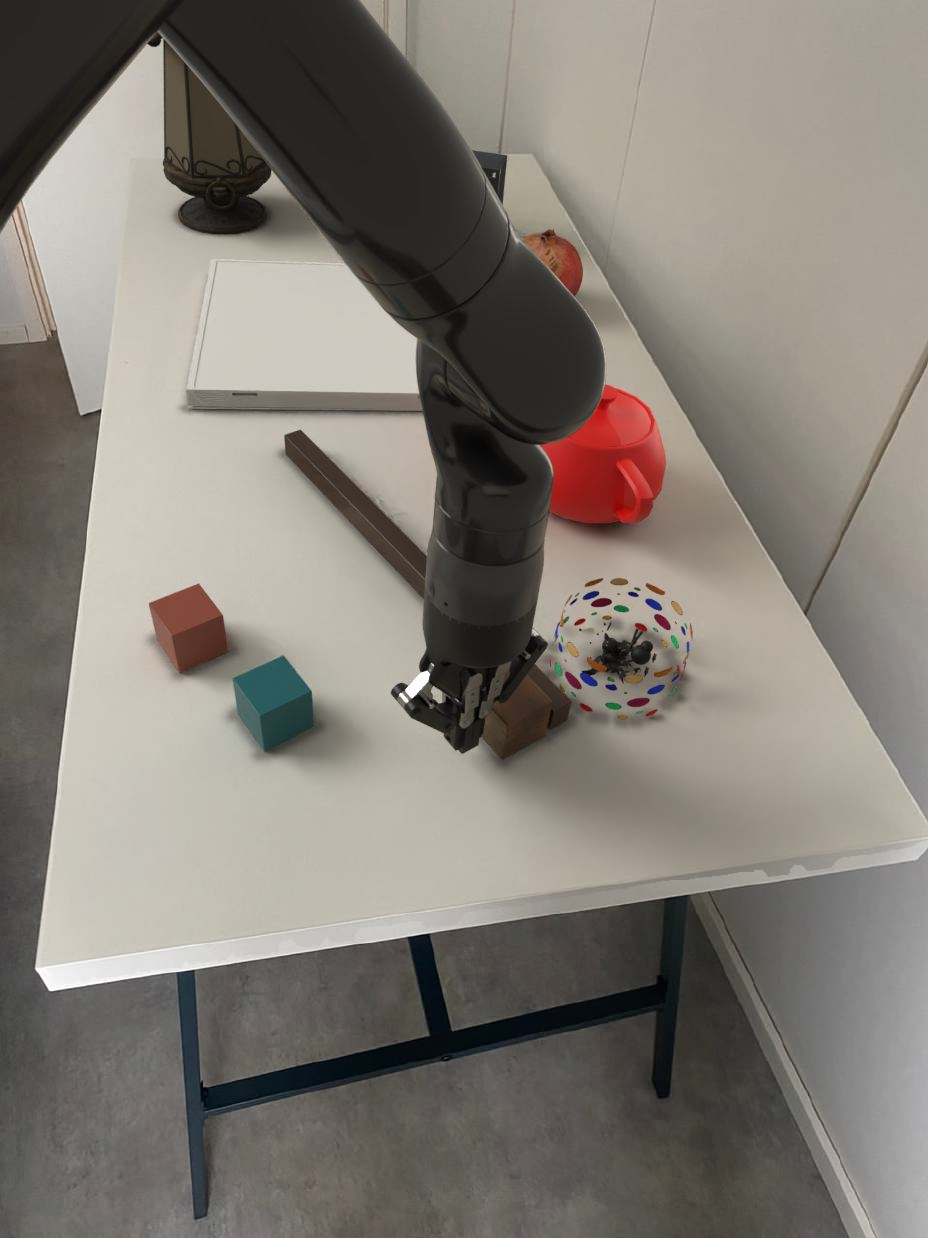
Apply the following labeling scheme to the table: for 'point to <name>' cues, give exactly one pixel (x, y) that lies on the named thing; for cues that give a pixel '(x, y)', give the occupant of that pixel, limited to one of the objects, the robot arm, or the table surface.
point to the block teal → (274, 702)
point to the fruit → (558, 258)
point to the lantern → (208, 154)
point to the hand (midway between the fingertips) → (462, 742)
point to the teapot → (609, 463)
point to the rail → (388, 538)
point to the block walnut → (517, 719)
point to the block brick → (189, 627)
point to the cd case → (298, 342)
